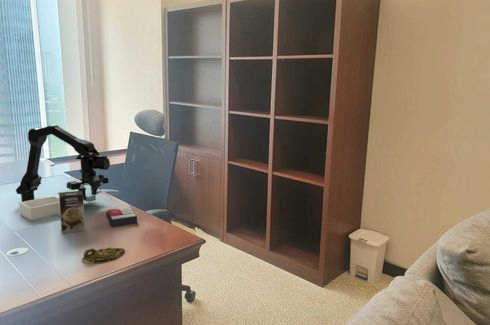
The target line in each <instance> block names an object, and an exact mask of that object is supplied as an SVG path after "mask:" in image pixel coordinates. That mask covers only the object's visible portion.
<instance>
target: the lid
mask: <svg viewBox="0 0 490 325" xmlns="http://www.w3.org/2000/svg"><path fill="white" fill-rule="evenodd" d="M84 188H86V190H85V193H86V201H85V202H87V203H90V202H94V201H96V200H97V197H96V195H99V194H100V193H102V192H103V190H100V189H99V188H98V189H97V192H96V195H94V194H92V193H91V186H90V185H86V186H84ZM73 191H78V189H76V190H71V189H68V190H64V191H57V195H59V193H62V192H73ZM83 201H84V199H83Z"/></svg>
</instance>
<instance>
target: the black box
mask: <svg viewBox="0 0 490 325" xmlns="http://www.w3.org/2000/svg"><path fill="white" fill-rule="evenodd" d="M105 214H106V218H107V220H108V223H109V225H110V227H111V228H116V227H117V228H118V227H124V226H130V225H137V224H138V216H137V215H136V213H135V212H134V211H133V210H132V209H131V208H130V207H121V208H119V209H118V208H115V209H109V210H108V209H107V211H106V213H105Z"/></svg>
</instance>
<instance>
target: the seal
mask: <svg viewBox="0 0 490 325" xmlns="http://www.w3.org/2000/svg"><path fill="white" fill-rule="evenodd" d="M124 253H125V249H124V248H123V247H106V248H99V249H96V248H93V247H92V248H91V247H90V248H89V249H86V250H84V252H83V257H82V259H81V261H82V262H83V263H84V264H101V263H105V262H111V261H114V260H116V259H118V258H120V257H121V256H122V255H124Z"/></svg>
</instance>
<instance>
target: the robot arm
mask: <svg viewBox="0 0 490 325" xmlns="http://www.w3.org/2000/svg"><path fill="white" fill-rule="evenodd" d="M50 135H52V136H54V137H56V138H58V139H59V140H61V141H63V142H65V143H66V144H67V145H69V146H71V147H72V149H73V150H74V151H75V152H76V153H77V154H78V155H77V156H76V157H75V160H80V170H79V174H80V177H81V178H79V180H80V181H77V180H73V181H67V183H66V189H68V190H76V189H78V191H82V192H83V199H84V200H83V201H84V202H87V201H86V193H85V190H86V188H84V187H85V186H90V187H91V193H92V194H94V195H97V194H96V192H97V189H99V188H100V187H101V186H102V185H105V184H109V181H110V180H109V178H108V176H104V174H97V172H96V170H100V171H101V170H103V171H107V170H109V168H110V166H111V162H110V159H109V158H108V155H107V154H106V155H101V154H100V152H99V151H98V150H97V149H96V147H95V144H94V143H93V142H91V141H89V140H86V139H81V138H78V136H76V135H73V134H71V132H69V131H66V130H65V129H64V128H62V127H60V126H59V125H57V124H51V125H48V126H45V127H42V126H40V127H34V128H30V129H29V130H28V132H27V140H28V143H29V146H30V147H29V153H28V158H27V159H28V160H27V165H26V172H25V173H24V175H23V176H22V178H21V180H20V184H19V185H18V187H16V189H15V192H16V195H20V198H21V202H24V201H29V200H34V199H36V198H35V191H37V190H38V188H39V186H40V185H41V184H42V178H43V177H42V176H40V175H39V167H40V166H39V165H40V161H41V155H42V148H43V146H44V144H45V143H46V141H47V139H48V136H50Z"/></svg>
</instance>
